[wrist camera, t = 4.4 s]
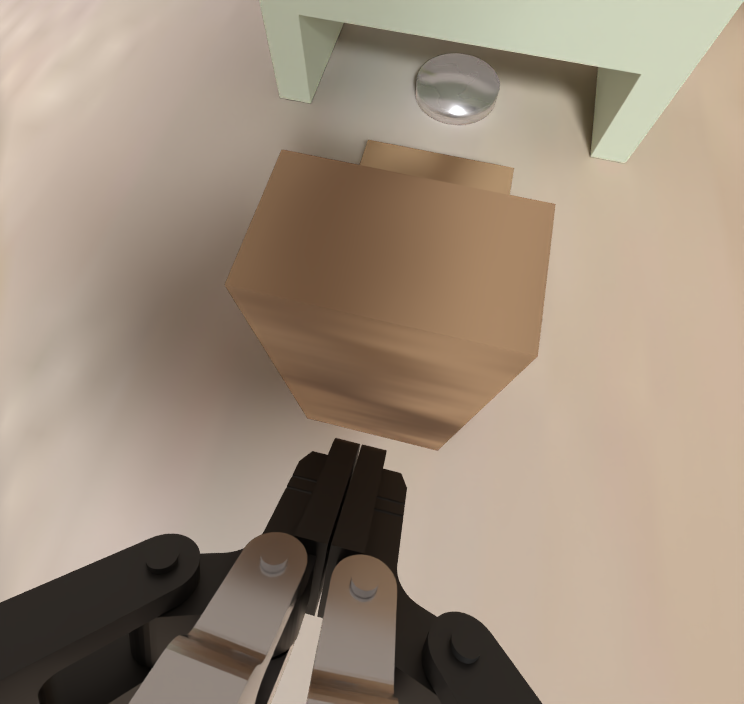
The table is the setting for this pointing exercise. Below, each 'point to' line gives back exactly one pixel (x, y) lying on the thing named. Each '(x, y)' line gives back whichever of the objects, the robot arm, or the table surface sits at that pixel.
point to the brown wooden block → (394, 287)
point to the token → (457, 88)
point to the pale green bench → (525, 45)
